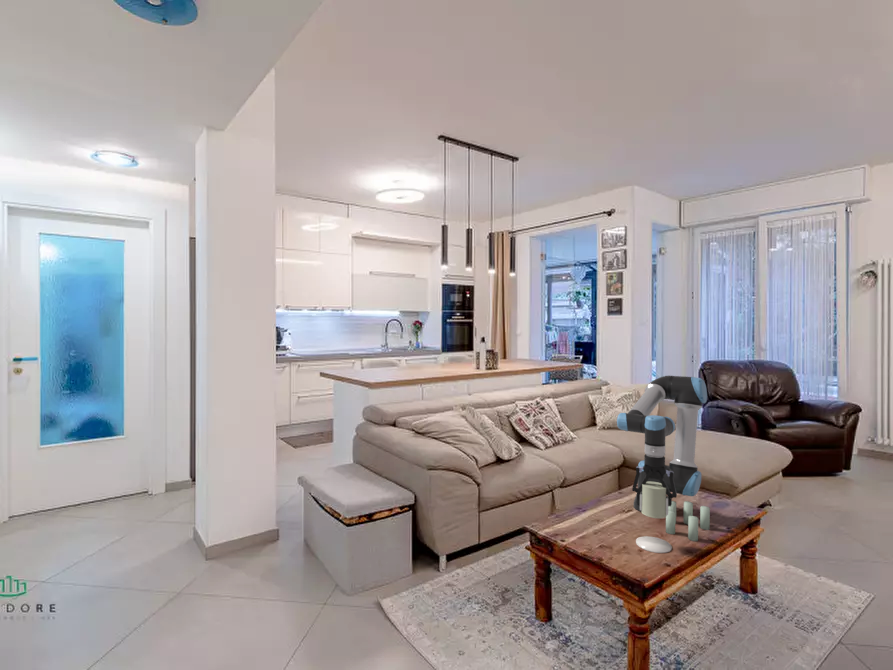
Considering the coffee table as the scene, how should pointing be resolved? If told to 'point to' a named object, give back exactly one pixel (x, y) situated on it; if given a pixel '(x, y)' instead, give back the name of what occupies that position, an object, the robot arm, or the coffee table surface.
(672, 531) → the posts
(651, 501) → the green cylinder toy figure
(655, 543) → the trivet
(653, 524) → the coffee table surface
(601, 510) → the coffee table surface
